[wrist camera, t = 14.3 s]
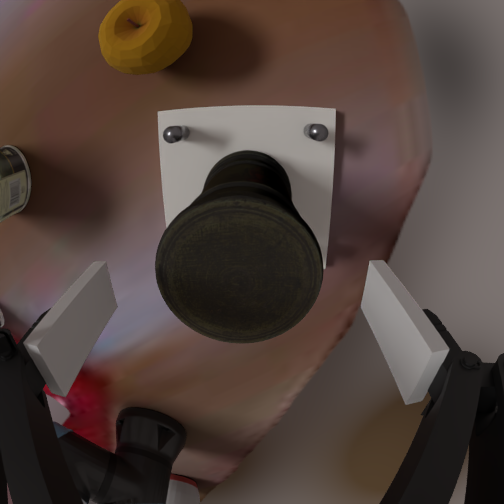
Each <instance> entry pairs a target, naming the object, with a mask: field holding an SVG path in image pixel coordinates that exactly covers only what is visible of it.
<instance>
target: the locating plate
mask: <svg viewBox="0 0 504 504" xmlns="http://www.w3.org/2000/svg"><path fill="white" fill-rule="evenodd" d="M335 123H336V109H330V108H317V107H299V106H219V107H202V108H188V109H177V110H168V111H159V112H158V130H159V149H160V164H161V177H162V189H163V200H164V210H165V219H166V228H167V227H168V225H169V224H170V223H171V222H172V220H173V219H174V218H175V217H176V216H177V215H178V214H179V213H180V212H181V211H182V210H184V209H185V208H186V207H188V206H189V205H190V204H191V203H192V202H193V201H194V200H195V199H196V198H197V197H198V196H199V195H200V194H201V193H202V190H203V187H204V184H205V181H206V178H207V176H208V174H209V172H210V170H211V169H212V168H213V166H214V165H215V164H216V163H217V162H218V161H219V160H221V159H222V158H223V157H225V156H227V155H229V154H231V153H234V152H237V151H243V150H252V151H258V152H262V153H264V154H267V155H269V156H270V157H272V158H274V159H275V160H276V161H277V162H278V163H279V164H280V165H281V166H282V167H283V168H284V170H285V171H286V173H287V175H288V178H289V180H290V184H291V191H292V202H293V204H294V206H295V208H296V209H297V211H298V212H299V214H300V216H301V218H302V219H303V220H304V221H305V222H306V223H307V224H308V226H309V227H310V228H311V230H312V231H313V233H314V235H315V236H316V239H317V241H318V243H319V246H320V249H321V253H322V258H323V269H325V268H326V259H327V249H328V239H329V229H330V217H331V205H332V191H333V174H334V154H335Z"/></svg>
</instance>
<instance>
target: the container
mask: <svg viewBox="0 0 504 504" xmlns="http://www.w3.org/2000/svg"><path fill="white" fill-rule="evenodd" d="M155 271H156V279H157V284H158V287H159V290H160V293H161V295H162V297H163V299H164V301H165V302H166V304H167V305H168V307H169V308H170V310H171V311H172V312H173V313H174V314H175V316H176V317H177V318H178V319H180V320H181V321H182V322H183V323H184V324H186V325H187V326H188V327H190V328H191V329H193V330H194V331H196V332H198V333H200V334H202V335H204V336H206V337H209V338H212V339H215V340H219V341H223V342H229V343H254V342H260V341H264V340H268V339H271V338H273V337H276V336H278V335H281V334H283V333H285V332H286V331H288V330H289V329H291V328H292V327H294V326H295V325H296V324H297V323H299V322H300V321H301V320H302V319H303V318H304V317H305V315H306V314H307V313H308V312H309V310H310V309H311V308H312V306H313V304H314V303H315V301H316V299H317V297H318V294H319V291H320V288H321V284H322V280H323V258H322V253H321V249H320V246H319V243H318V241H317V239H316V236H315V235H314V233H313V231H312V230H311V228H310V227H309V226H308V224H307V223H306V222H305V221H304V220H303V219H302V218H301V216H300V214H299V212H298V211H297V209H296V208H295V206H294V204H293V202H292V191H291V184H290V180H289V178H288V175H287V173H286V171H285V170H284V168H283V167H282V166H281V165H280V164H279V163H278V162H277V161H276V160H275V159H274V158H272V157H270V156H269V155H267V154H264V153H262V152H258V151H252V150H243V151H237V152H234V153H231V154H229V155H227V156H225V157H223V158H222V159H221V160H219V161H218V162H217V163H216V164H215V165H214V166H213V168H212V169H211V170H210V172H209V174H208V176H207V178H206V181H205V184H204V187H203V190H202V193H201V194H200V195H199V196H198V197H197V198H196V199H195V200H194V201H193V202H192V203H191V204H190V205H189V206H188V207H186V208H185V209H184V210H182V211H181V212H180V213H179V214H178V215H177V216H176V217H175V218H174V219H173V220H172V222H171V223H170V224H169V225H168V227H167V229H166V230H165V232H164V234H163V236H162V238H161V240H160V243H159V245H158V249H157V253H156V261H155Z"/></svg>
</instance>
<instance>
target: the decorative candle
mask: <svg viewBox="0 0 504 504" xmlns="http://www.w3.org/2000/svg"><path fill="white" fill-rule="evenodd" d="M4 321H5V320H4V316H3V313H2V311H1V309H0V329H1V327H2V326H3V325H4Z"/></svg>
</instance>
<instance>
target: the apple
mask: <svg viewBox="0 0 504 504" xmlns="http://www.w3.org/2000/svg"><path fill="white" fill-rule="evenodd" d="M192 29H193V27H192V22H191V19H190V16H189V14H188V11H187V9H186V7H185V6H184V5H183V3H182V2H181V1H180V0H121V1H120V2H118V3H117V4H116V5H115V6H114V7H113V8H112V9H111V10H110V11H109V12H108V14H107V15H106V17H105V19H104V20H103V22H102V24H101V25H100V30H99V35H98V38H99V43H100V47H101V52H102V55H103V56H104V58H105V60H106V61H107V63H108V64H109V65H110V66H111V67H113V68H115V69H117V70H118V71H120V72H123V73H126V74H134V75H140V74H149V73H155V72H158V71H160V70H163V69H164V68H166V67H167V66H169V65H171V64H172V63H173V62H175V61H176V60H177V59H178V58H179V57H180V56H181V55H182V54H184V52H185V51H186V50H187V48H188V47H189V46H190V43H191V40H192Z"/></svg>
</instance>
